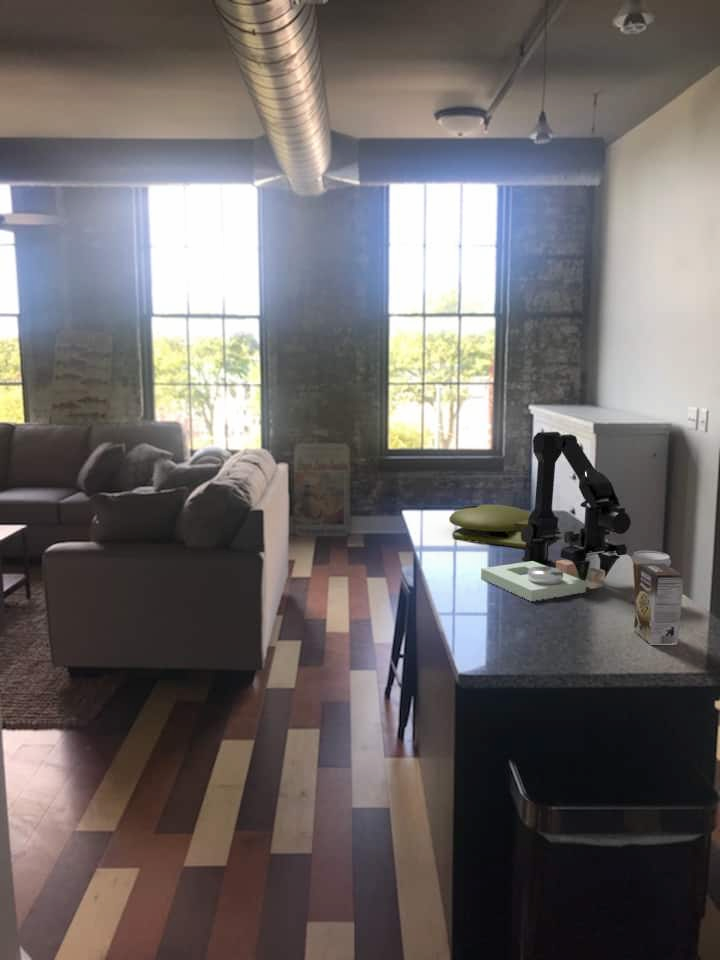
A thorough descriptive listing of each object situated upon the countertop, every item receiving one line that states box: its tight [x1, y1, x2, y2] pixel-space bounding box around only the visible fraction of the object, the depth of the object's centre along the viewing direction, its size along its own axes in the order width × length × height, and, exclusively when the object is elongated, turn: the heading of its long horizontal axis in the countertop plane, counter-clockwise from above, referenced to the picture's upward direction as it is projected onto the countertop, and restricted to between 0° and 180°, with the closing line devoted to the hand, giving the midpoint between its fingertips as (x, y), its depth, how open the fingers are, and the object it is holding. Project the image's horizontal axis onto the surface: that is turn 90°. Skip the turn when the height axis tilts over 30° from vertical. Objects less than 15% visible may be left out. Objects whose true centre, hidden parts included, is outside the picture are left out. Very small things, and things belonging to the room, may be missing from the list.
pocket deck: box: [480, 561, 587, 602], centre depth 207 cm, size 18×22×3 cm
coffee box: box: [633, 563, 685, 645], centre depth 168 cm, size 9×6×16 cm
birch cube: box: [585, 566, 606, 589], centre depth 207 cm, size 4×4×4 cm
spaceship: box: [448, 504, 560, 549], centre depth 265 cm, size 35×31×10 cm
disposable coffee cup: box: [631, 550, 672, 600], centre depth 194 cm, size 10×10×12 cm
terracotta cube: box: [555, 559, 579, 579], centre depth 214 cm, size 4×4×4 cm
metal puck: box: [528, 566, 563, 585], centre depth 201 cm, size 9×9×2 cm
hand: (592, 581), depth 207 cm, fingers open, 7 cm apart
